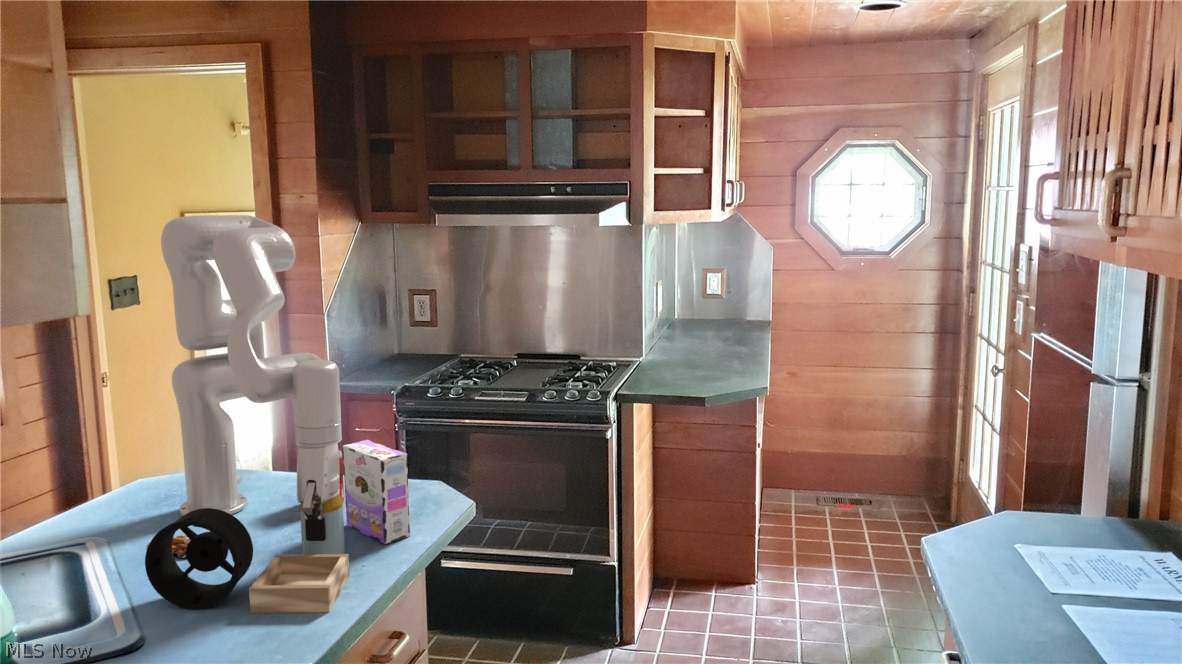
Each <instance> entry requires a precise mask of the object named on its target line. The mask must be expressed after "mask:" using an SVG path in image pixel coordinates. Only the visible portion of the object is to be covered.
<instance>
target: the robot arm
mask: <svg viewBox="0 0 1182 664" xmlns="http://www.w3.org/2000/svg"><path fill="white" fill-rule="evenodd" d="M160 246H161V253H162V256H163V259H164V263H165V265H166V268H167V270H168V273H169V275H170V278H171V285H172V295H173V305H174V306H173V307H174V319H175V320H174V321H175V329H176V335H177V339H178V343H179V344H180V346H181V347H182V348H183V349H185V350H188V351H194V352H195V351H210V350H216V349H217V350H218V349H223V348H227V353H220V354H211V355H205V356H198V357H193V358H189V359H186V360H184V361H181V362H180V363H178V364H177V366H175V368H174V369H173V372H172V373H171V385H172V391H173V393H174V396H175V400H176V403H177V408H178V415H179V420H180V430H181V441H182V453H183V465H184V477H185V491H186V501H184V502H183V503H182V504H181V505H179V508H178V509H179V515H180V516H181V517H182V516H184V515H185V514H187V513H189V512H191V511H194V510H197V509H203V508H213V509H219V510H222V511H225V512H227V513H229V514H231V515H234V514H237V513H238V512H240V511H242V510H244V509H245V508H246V506H247V505H248V499H247V497H246V496H245V495H244V494H242V493H239V487H238V486H239V485H240V484H241V482H242V478H241V477H242V476H240V475H238V471H237V458H236V457H237V456H236V455H237V454H236V443H235V441H236V440H235V429H234V422H233V419H232V418H231V416H230V415H229V414H228V413H227V411H225V410H224V409H223V408H222V407H221V406H220V404H221V403H223V402H227V401H230V400H235V399H240V398H241V399H242V398H246V399H247V400H248V401H251V402H252V403H257V404H264V403H265V404H266V403H270V402H271V403H272V402H275V401H281V400H285V399H290V398H293V413H294V416H293V417H294V433H295V434H294V435H295V437H294V438H295V439H294V440H295V444H296V445H297V446H298V450H297V459H296V460H297V461H296V501H297V503H299V504H301V503H302V502H303V501H304V503H303V509H304V513H305V527H306V540H307V541H324V540H325V539H326V526H325V518H323V511H324V502H326V501H327V500H328V499H329V496H330V487H331V481H332V480H333V479H334V478H335V477H336V475H337V474H338V475H339V481H340V465H339V451H338V450H339V443H340V442H341V441H343V437H342V436H343V435H342V434H343V433H342V417H341V416H342V415H341V413H342V411H341V410H342V409H341V385H340V382H341V381H340V380H341V379H340V368H339V366H338V364H337V363H335V362H334V361H332V360H327V359H322V358H321V357H319V356H317V355H316V354H314V353H312V352H307V351H306V352H302V351H301V352H295V353H290V354H289V353H288V354H281V355H276V356H269V357H265V346H264V345H265V343H264V329H263V328H264V327H263V322H264V321H266V320H268V319H270V318H271V317H273V316H274V315H276V314H278V312H279V311H280V310H281V309H283V306H284V304H285V302H286V297H285V294H284V292H283V290H282V288H281V285H280V284H279V281H278V278H277V277H276V274H275V273H279V272H285V271H288V270H290V269H291V268H292V267H293V266H294V264H295V261H296V257H297V256H296V255H297V253H296V247H295V245H294V242H293V240H292V238H291V237H290V235H289V234H288V233H287V231H285V229H283V228H281V227H279V225H275V224H273V223H271V222H268V221H267V220H265V219H264V220H263V219H262V218H258V217H257V216H254V215H253V216H252V215H247V214H246V215H245V214H238V215H237V214H232V215H231V214H227V215H225V214H224V215H223V214H222V215H220V214H219V215H218V214H217V215H216V214H215V215H214V214H212V215H211V214H209V215H207V214H206V215H201V214H200V215H186V216H180V217H176V218H173V219H171V220H169V221H168V222H167V223H166V224H165V225H164V226H163V228H162V230H161V237H160ZM208 261H214V262H215V265H216V267H217V269H218V272H219V274H220V276H219V275H218V273H217V272H216V270H215V269H214V267H213V266H212V265H211V264H210V263H209V262H208ZM220 277H221V279H222V281H223V284H224V286H225V289H226V291H227V294H228V295H229V297H230V299H224V300H223V297H222V285H221V279H220ZM314 497H321V499H320V500H314ZM313 504H319V511H318V510H317V508H314V505H313Z"/></svg>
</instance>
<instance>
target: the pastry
mask: <svg viewBox="0 0 1182 664" xmlns="http://www.w3.org/2000/svg"><path fill="white" fill-rule="evenodd" d="M196 534H197V535H199V534H200V533H196ZM190 541H191V540H190V539H189V538H188V537H187V536H186V535H185V534H181V535H177V536H174V537H173V541H172V551H173V554H177V557H178V558H180V559H181V558H182V559H183V558H186V548H187V545H188V544H189V542H190ZM149 543H150V542H149ZM149 543H147V544H146V545H145V547H146V549H147V548H148V545H149Z"/></svg>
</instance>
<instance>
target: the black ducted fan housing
mask: <svg viewBox="0 0 1182 664" xmlns="http://www.w3.org/2000/svg"><path fill="white" fill-rule="evenodd" d="M191 526H192V527H194V528H196V527H197V528H201V529H203V530H207V531H205V532H201V533H196V532H195V531H193V530H192V528H190V527H191ZM179 530H180V531H181V532H182V533H183V535H186V536H187V537H188V538H189V539H190V540H191V541H190V542H189V544H188V545H187V548H186V556H185V558H186V560H187V562H188V564H189V566H188V567H187V568H186V570H185V571H183V570H182V569H181V567H180V566H179V565H178V562H177V561H176V559H175V556H174V553H173V551H172V541H173V537H174V538H175V534H176V532H177V531H179ZM197 534H199V535H197ZM229 553H230V555H231V559H232V562H233V565H232V564H231V563H230V562H229V561H228V560H226V559H227V558H228V554H229ZM253 557H254V545H253V541H252V537H251V535H250V532H249V531H248V529H247V528H246V527H245V525H244V524H243V522H241V521H240V520H239V518H237V517H235V515H234V514H229V513H227V512H225V511H222V510H219V509H213V508H203V509H197V510H194V511H191V512H189V513H187V514H185V515H184V516H181V517H179V518H178V519H177V520H175V521H174V522H172V523H169V524H168V525H166V526H164V527H163V528H161V529H160V530H159V531H157V533H156V534H155V535H154V536H153V537H152V539H151V540H150V542H149V545H148V548H147V547H146V552H145V557H144V567H145V572H146V576H147V578H148V581H149V582H150V585H151V586H152V588H153V589H154V590H155V591H156V593H157V594H158V595H160V597H162V598H163V600H166V601H167V602H169V603H170V604H172V605H174V606H177V607H179V608H183V609H187V610H204V609H208V608H212V607H215V606H217V605H218V604H220V603H222V602H223V601H224V600H225V599H226V598H228V596H230V594H231V593H232V591H233V590H234V589H235V588H236V586H237V584H238V582H240V580H241V579H242V578H243V577H244V576H245V575H246V574H247V572H248V570H249V568H250V567H251V564H252V562H253ZM219 567H220V568H222V569H223V570H224V571H226V572H227V573H228V574H230V575H231V577H230V579H229V580H228V581H225V582H222V583H219V584H208V583H202V582H200V581H199V580H198V581H197V580H195V579H193V578H192V577H190V576H189V574H190V573H191V572H192V571H194V569H195V570H197V571H199V572H204V573H206V572H213V571H215V570H217V569H218V568H219Z"/></svg>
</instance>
